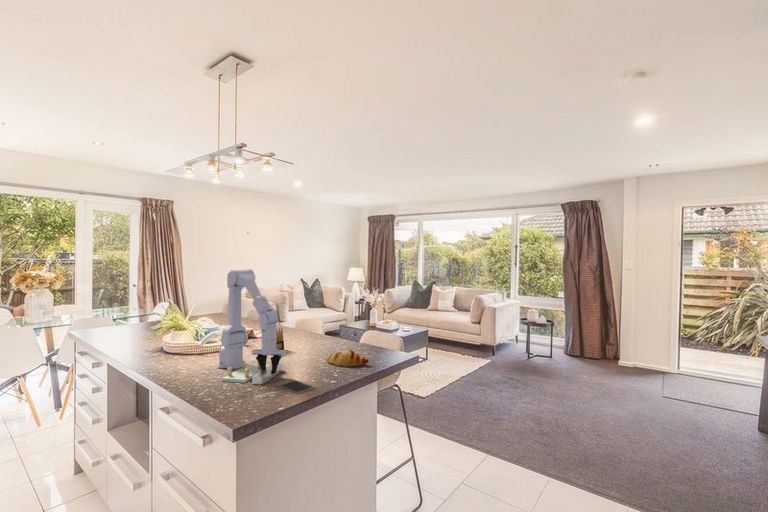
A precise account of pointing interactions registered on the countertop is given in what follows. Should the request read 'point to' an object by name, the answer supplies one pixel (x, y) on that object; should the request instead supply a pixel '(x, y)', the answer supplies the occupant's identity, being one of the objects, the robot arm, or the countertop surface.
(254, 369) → the rack
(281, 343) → the ammunition clip
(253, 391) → the countertop surface
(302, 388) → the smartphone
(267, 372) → the grey bar
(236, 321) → the robot arm
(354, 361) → the croissant
